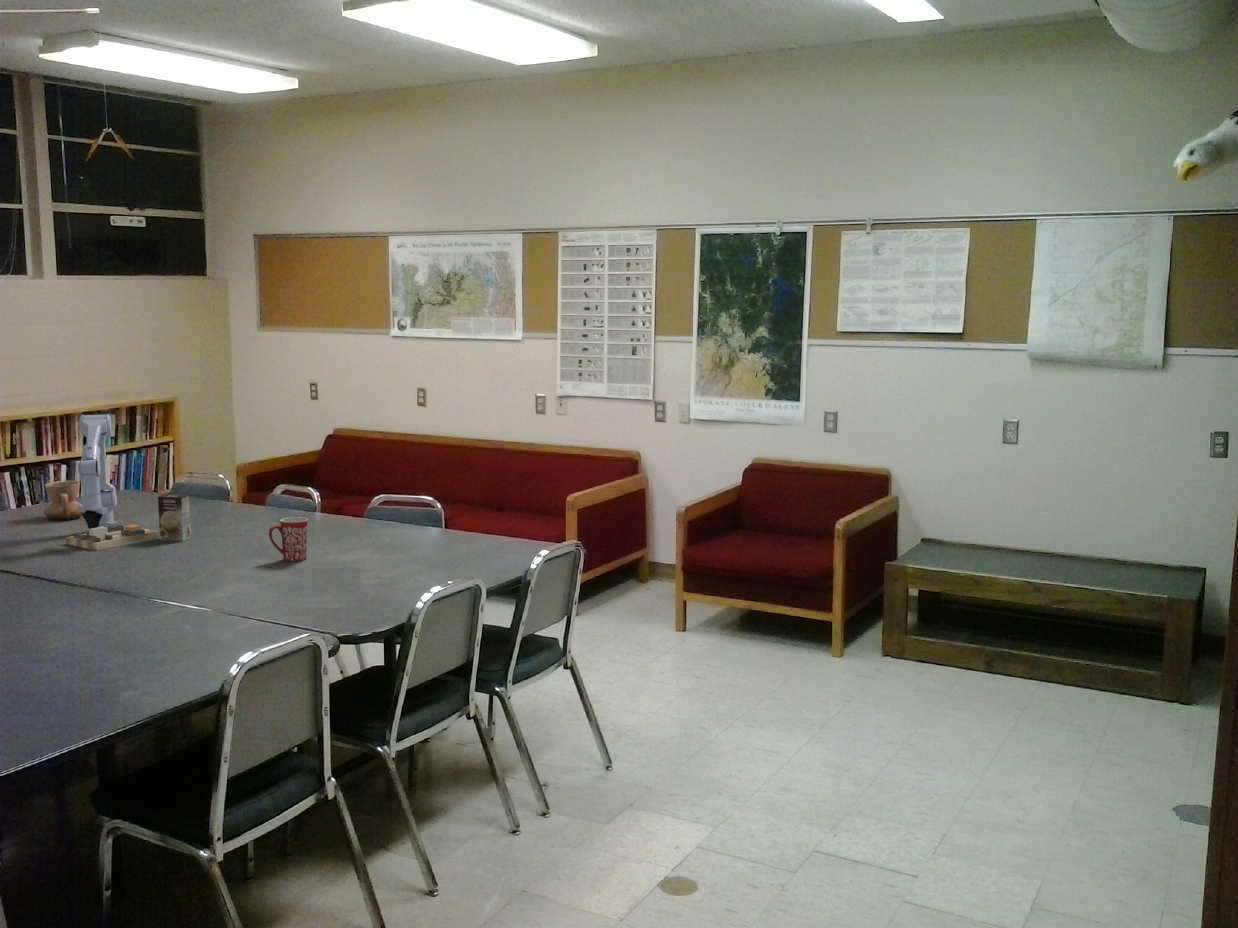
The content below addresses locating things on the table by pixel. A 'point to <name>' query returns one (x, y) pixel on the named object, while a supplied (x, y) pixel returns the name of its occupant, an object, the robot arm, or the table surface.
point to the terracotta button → (132, 527)
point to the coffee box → (174, 517)
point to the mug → (292, 538)
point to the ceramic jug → (63, 500)
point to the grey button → (112, 524)
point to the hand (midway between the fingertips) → (93, 532)
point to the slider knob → (98, 532)
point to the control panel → (111, 538)
